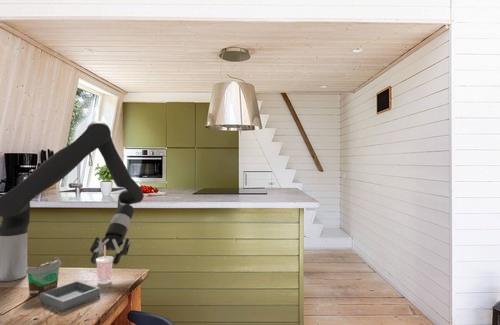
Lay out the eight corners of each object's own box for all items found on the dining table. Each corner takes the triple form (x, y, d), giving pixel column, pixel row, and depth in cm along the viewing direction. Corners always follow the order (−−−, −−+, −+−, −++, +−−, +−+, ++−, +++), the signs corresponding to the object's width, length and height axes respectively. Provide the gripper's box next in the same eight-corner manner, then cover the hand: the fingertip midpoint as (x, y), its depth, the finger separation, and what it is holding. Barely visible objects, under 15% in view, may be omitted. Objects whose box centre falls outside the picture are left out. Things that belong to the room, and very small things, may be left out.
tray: (40, 302, 103) (40, 293, 103) (77, 288, 114) (77, 280, 114) (63, 311, 97) (63, 301, 97) (99, 296, 108) (99, 287, 108)
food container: (41, 299, 105) (41, 269, 105) (25, 297, 107) (26, 267, 107) (69, 284, 117) (69, 258, 117) (55, 283, 119) (55, 256, 119)
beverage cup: (92, 284, 118) (93, 247, 118) (99, 278, 124) (100, 243, 124) (109, 284, 118) (110, 247, 118) (115, 278, 124) (116, 243, 124)
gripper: (98, 221, 129) (81, 258, 118) (132, 222, 128) (118, 259, 117) (105, 231, 135) (89, 267, 123) (137, 232, 134) (125, 268, 122)
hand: (103, 263), depth 120 cm, fingers open, 8 cm apart
